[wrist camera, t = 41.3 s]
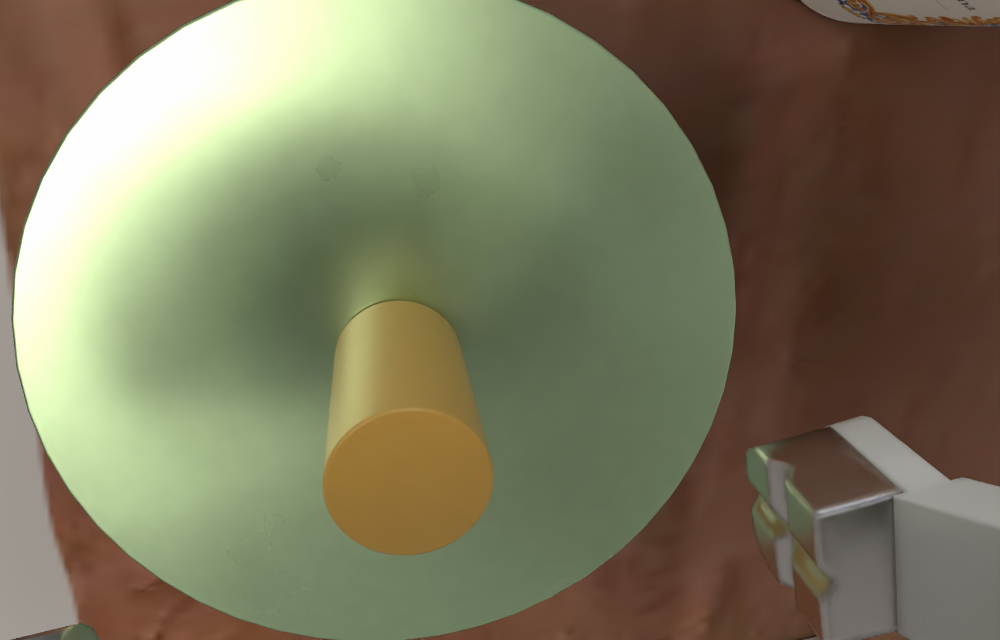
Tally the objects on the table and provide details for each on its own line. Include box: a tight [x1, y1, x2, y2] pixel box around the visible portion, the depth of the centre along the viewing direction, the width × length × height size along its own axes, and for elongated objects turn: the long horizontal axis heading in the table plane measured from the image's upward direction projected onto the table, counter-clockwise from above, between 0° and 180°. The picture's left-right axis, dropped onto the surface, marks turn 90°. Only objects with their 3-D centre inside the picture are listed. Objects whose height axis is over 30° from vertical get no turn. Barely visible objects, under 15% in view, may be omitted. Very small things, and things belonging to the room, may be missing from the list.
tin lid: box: [11, 0, 736, 640], centre depth 14 cm, size 14×14×6 cm
